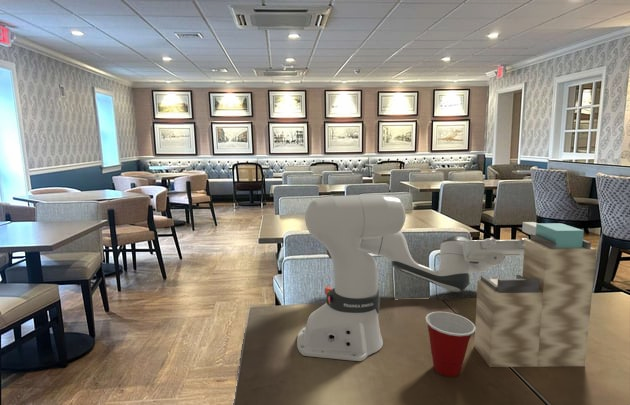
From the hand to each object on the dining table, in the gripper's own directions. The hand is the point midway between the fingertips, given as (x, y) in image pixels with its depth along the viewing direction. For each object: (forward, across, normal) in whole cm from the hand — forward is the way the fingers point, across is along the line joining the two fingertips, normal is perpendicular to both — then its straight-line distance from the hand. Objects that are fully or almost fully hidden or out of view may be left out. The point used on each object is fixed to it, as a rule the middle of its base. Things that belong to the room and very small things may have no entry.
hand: (509, 241), depth 114 cm
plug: (+18, 0, -5) cm, 19 cm away
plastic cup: (+13, +27, -34) cm, 45 cm away
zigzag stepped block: (+8, +6, -31) cm, 33 cm away
